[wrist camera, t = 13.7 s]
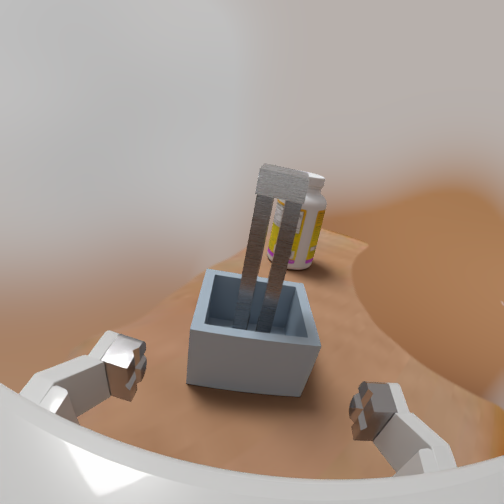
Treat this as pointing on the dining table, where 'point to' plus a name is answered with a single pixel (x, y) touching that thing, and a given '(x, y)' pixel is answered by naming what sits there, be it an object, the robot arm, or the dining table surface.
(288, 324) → the blue-gray square tray
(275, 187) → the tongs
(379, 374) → the dining table surface
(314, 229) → the supplement bottle
